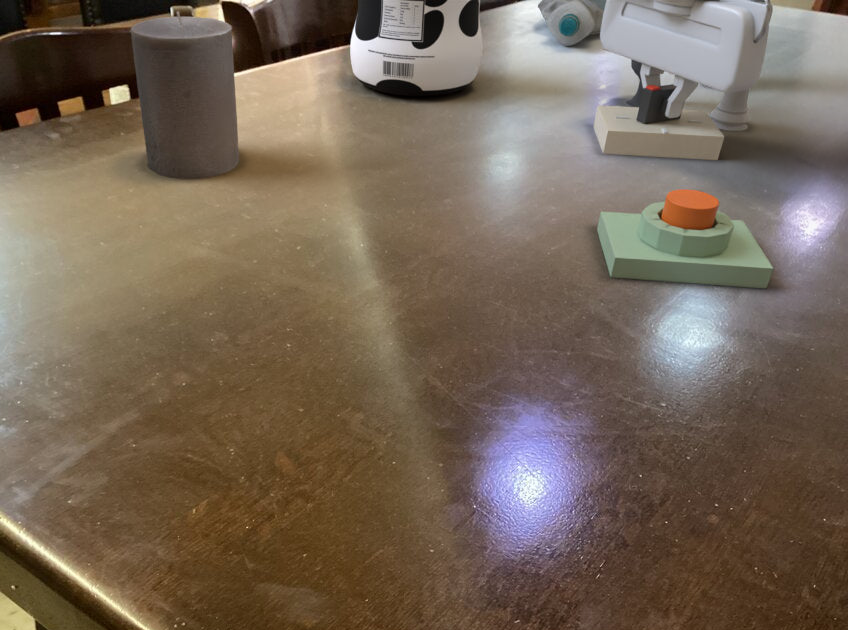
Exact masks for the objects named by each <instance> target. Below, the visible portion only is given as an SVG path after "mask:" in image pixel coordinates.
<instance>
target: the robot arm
mask: <svg viewBox="0 0 848 630" xmlns="http://www.w3.org/2000/svg"><path fill="white" fill-rule="evenodd" d="M760 1H761V0H606V4H605V9H604V14H603V19H602V24H601V31H600V33H599V39H600V43H601V46H602V49H603V50H604V51H607V52H610V53H613V54H615V55H618V56H620V57H623V58H627V59H630V60H631V59H632V60H635V61H638V62H640V63H642V66H641V71H640V75H641V80H642V85H643V88H646V86H649V85H655V86H662V85H661V84H662V83H661V75H663V74H665V72H666V73H668V74H671V75H674V78H673V82H672V84H673V85H674V86H677V87H676V89H675V90H674V91H673V93H672V94H671V96H670V97H669V98H663V99H662V102H661V108H660V110H659V113H660V114H661V115H663V116H665V117H668V118H676V117H679V116H680V114H681V112H682V110H683V109H684V105H685V101H687V99H688V98H689V97H690V96H691V94H693V92H694V91H695V90H696V89H697V87H698V85H701V86H705V87H707V88H710V89H712V90H715V91H718V92H721V93H733V92H740V91H746V90H749V91H750V89H752V87H754V86H755V85H756V84H757V83H758V82H759V80H760V76H761V73H762V70H763V65H764V60H765V57H766V56H765V55H766V49H767V45H768V37H769V31H770V29H769V28H770V22H771V19H772V16H773V10H774V9H773V8H774V7H773V5H772V3H771V0H764V2H765V3H764V2H760ZM683 104H684V105H683ZM682 108H683V109H682Z"/></svg>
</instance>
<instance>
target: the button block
mask: <svg viewBox="0 0 848 630" xmlns="http://www.w3.org/2000/svg"><path fill="white" fill-rule="evenodd" d="M664 204H665V200H664V201H659V202H654V203H650V204H648V205H647V206H646V207H645V208H644V209H643V210H642V211H641V213H630V212H629V213H628V212H617V211H615V212H614V211H600V215H599V219H598V224H597V228H596V232H597V234H598V238H599V242H600V245H601V249H602V252H603V256H604V259H605V263H606V266H607V269H608V274H609V276H610V278H619V279H630V280H631V279H632V280H645V281H657V282H659V281H660V282H671V283H672V282H673V283H687V284H701V285H713V286H714V285H716V286H727V287H728V286H729V287H740V288H742V287H743V288H756V289H768V285H769V282H770V281H771V278H772V274H773V271H774V267H773V265H772V263H771V262H770V261H769V259H768V257H767V256H766V254H765V253H764V251H763V250H762V248H761V246H760V245H759V243H758V242H757V240H756V238H755V237H754V235H753V234H752V233H751V231H750V229H749V228H748V226H747V225H746V223H745V222H744V220H739V219H731V217H730V216H729V215H727V214H725V213H724V212H722V211H720V210H719V209H718V210H717V213H716V216H715V220H714V223H713V226H712V228H711V229H706V230H689V229H683V228H679V227H675V226H671V225H669V224H667V223H665V222H664V221H662V220H661V216H662V212H663V208H664Z"/></svg>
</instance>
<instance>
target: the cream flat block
mask: <svg viewBox="0 0 848 630" xmlns="http://www.w3.org/2000/svg"><path fill="white" fill-rule="evenodd" d="M638 110H639V107H634V106H622V105H621V106H620V105H602V104H601V105H599V104H597V106H596V112H595V115H594V116H595V117H594V120H593V121H594V122H593V130H594V133H595V136H596V139H597V141H598V144H599V146H600V147H599V148H600V149H601V152H602V154H603V155H621V156H638V157H654V158H670V159H671V158H672V159H687V160H688V159H690V160H692V159H693V160H709V161H718V160H719V157H720V153H721V150H722V146H723V143H724V140H725V135H724V134H723V133H722V132H721V129H718V127H717V126H716V125H715V123H714V122H713V121H712V117H711V116H709V114H708V113H707V111H706V110H700V109H699V110H697V109H682V113H681V117H680V119H675V120H668V121H661V122H655V123H648V124H643V123H641V122H639V121H637V120H636V119H637V115H638Z"/></svg>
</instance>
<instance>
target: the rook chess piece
mask: <svg viewBox="0 0 848 630" xmlns="http://www.w3.org/2000/svg"><path fill="white" fill-rule="evenodd" d="M749 92H750V89H749V90H746V91H740V92H733V93H724V92H723V93H724V94H723V95H722V98H721V100H720V102H719V103H718V104H717V105H716V108H714V109H713V110H712V111H711V113H710V118H711V119H712V121H713V122H714V123H715V125H716V126H717V127H718V129H719V130H721V131H728V132H741V131H745V130H747V129H748V125H747V124H746V123H749V121H750V114H749V112H748V111H749V108H748V101H749V94H750V93H749Z"/></svg>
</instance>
